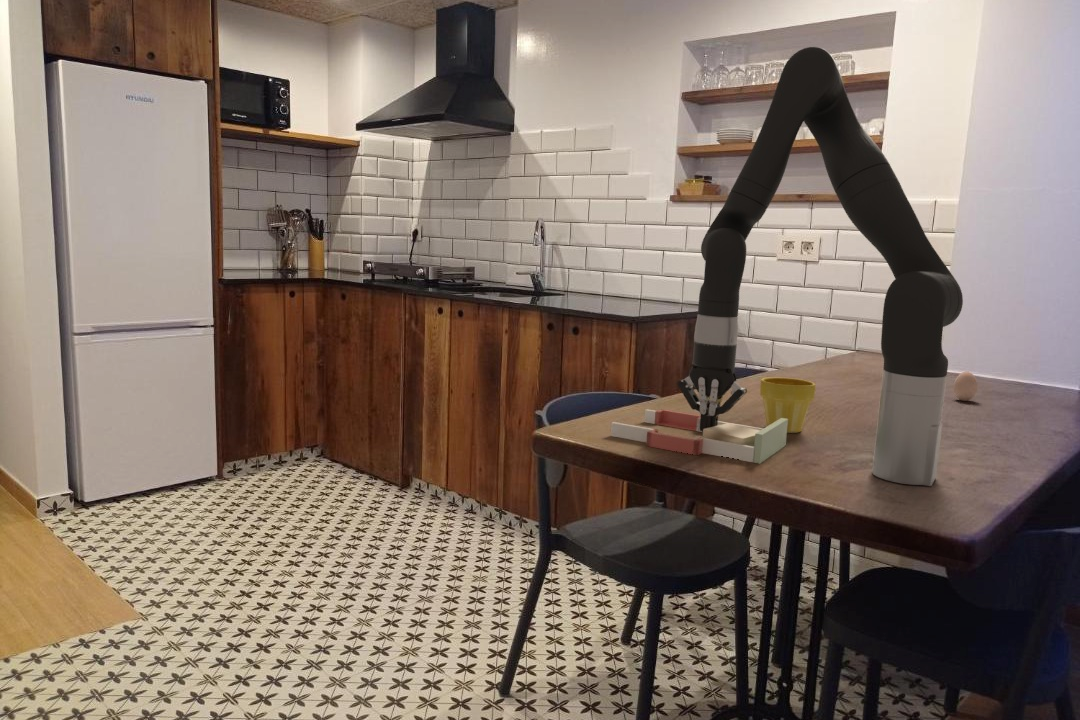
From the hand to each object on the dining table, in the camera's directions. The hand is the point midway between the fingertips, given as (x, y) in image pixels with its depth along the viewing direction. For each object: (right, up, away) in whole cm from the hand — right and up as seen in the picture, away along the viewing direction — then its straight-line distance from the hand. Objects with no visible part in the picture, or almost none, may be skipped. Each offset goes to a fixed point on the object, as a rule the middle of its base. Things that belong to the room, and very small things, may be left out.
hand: (707, 434), depth 149 cm
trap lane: (-2, -1, +1) cm, 2 cm away
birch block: (+4, -3, -4) cm, 6 cm away
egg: (+75, +3, +54) cm, 92 cm away
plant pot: (+18, 0, +14) cm, 23 cm away
